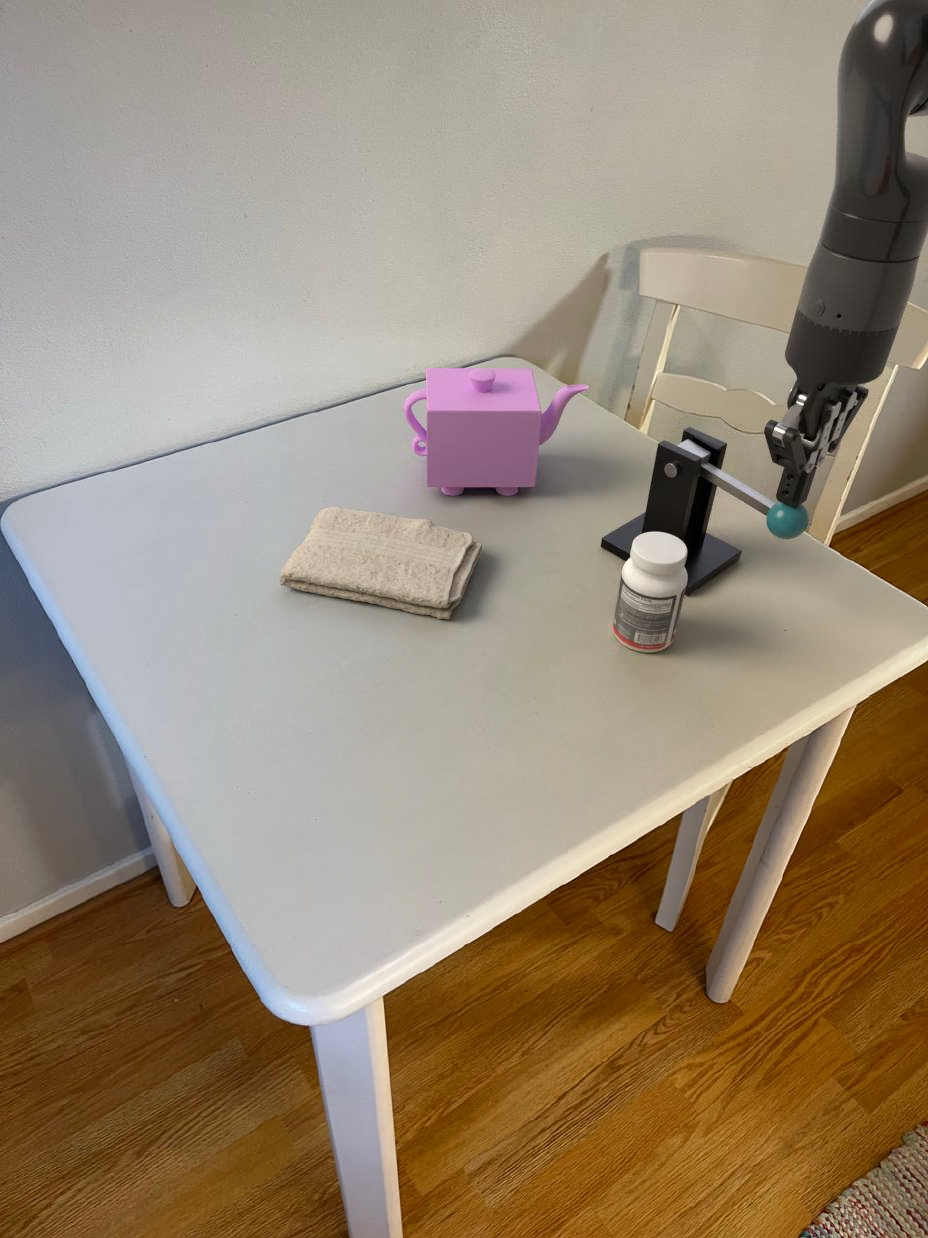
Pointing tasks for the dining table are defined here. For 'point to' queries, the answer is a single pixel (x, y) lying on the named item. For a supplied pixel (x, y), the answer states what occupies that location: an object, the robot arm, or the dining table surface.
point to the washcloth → (384, 561)
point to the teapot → (483, 427)
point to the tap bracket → (681, 510)
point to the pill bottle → (651, 592)
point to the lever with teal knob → (753, 498)
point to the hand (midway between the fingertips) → (790, 501)
